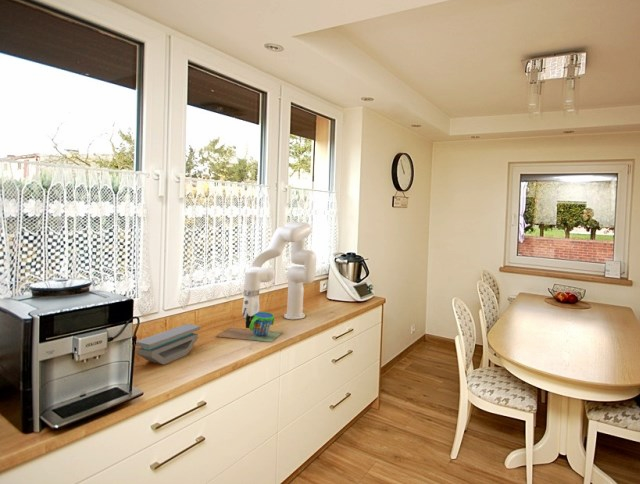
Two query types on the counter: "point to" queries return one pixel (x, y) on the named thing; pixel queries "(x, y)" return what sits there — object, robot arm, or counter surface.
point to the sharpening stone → (168, 344)
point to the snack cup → (261, 323)
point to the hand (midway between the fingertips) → (249, 327)
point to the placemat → (248, 335)
